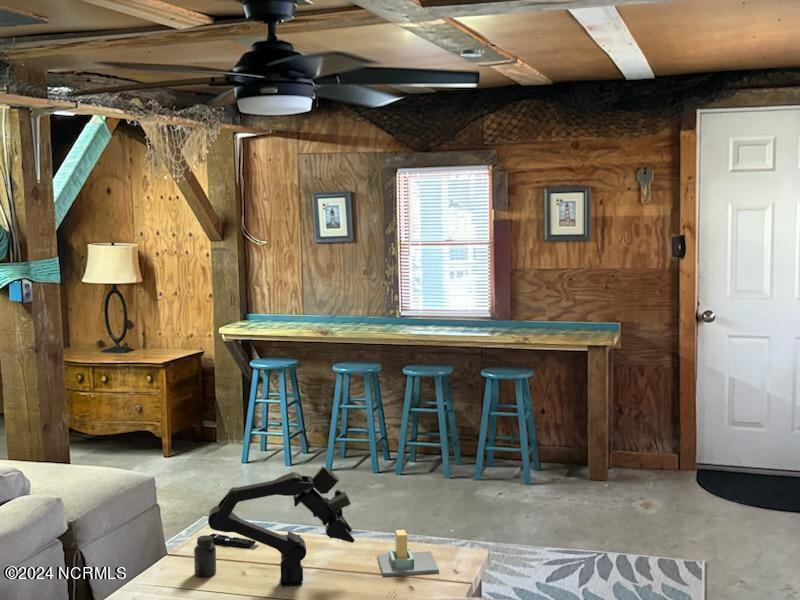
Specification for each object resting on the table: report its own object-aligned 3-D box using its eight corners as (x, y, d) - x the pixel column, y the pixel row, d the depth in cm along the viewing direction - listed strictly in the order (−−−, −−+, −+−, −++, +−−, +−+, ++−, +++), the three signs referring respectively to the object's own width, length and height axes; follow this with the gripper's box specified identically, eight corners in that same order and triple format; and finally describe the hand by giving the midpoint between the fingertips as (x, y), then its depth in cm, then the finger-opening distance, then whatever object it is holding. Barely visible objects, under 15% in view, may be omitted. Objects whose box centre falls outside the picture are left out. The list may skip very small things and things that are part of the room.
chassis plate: (383, 576, 284) (382, 565, 283) (377, 557, 299) (377, 547, 299) (438, 572, 286) (438, 562, 286) (430, 554, 302) (430, 544, 302)
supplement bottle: (190, 576, 285) (189, 540, 284) (202, 568, 291) (201, 532, 290) (209, 579, 282) (208, 542, 281) (220, 571, 289) (219, 535, 288)
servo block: (398, 565, 290) (397, 535, 289) (395, 559, 295) (395, 530, 294) (407, 564, 290) (406, 534, 289) (404, 559, 295) (404, 529, 294)
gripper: (336, 494, 270) (373, 528, 272) (332, 476, 288) (367, 508, 291) (311, 521, 269) (348, 554, 272) (308, 501, 288) (343, 533, 290)
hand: (352, 536), depth 281 cm, fingers open, 9 cm apart
